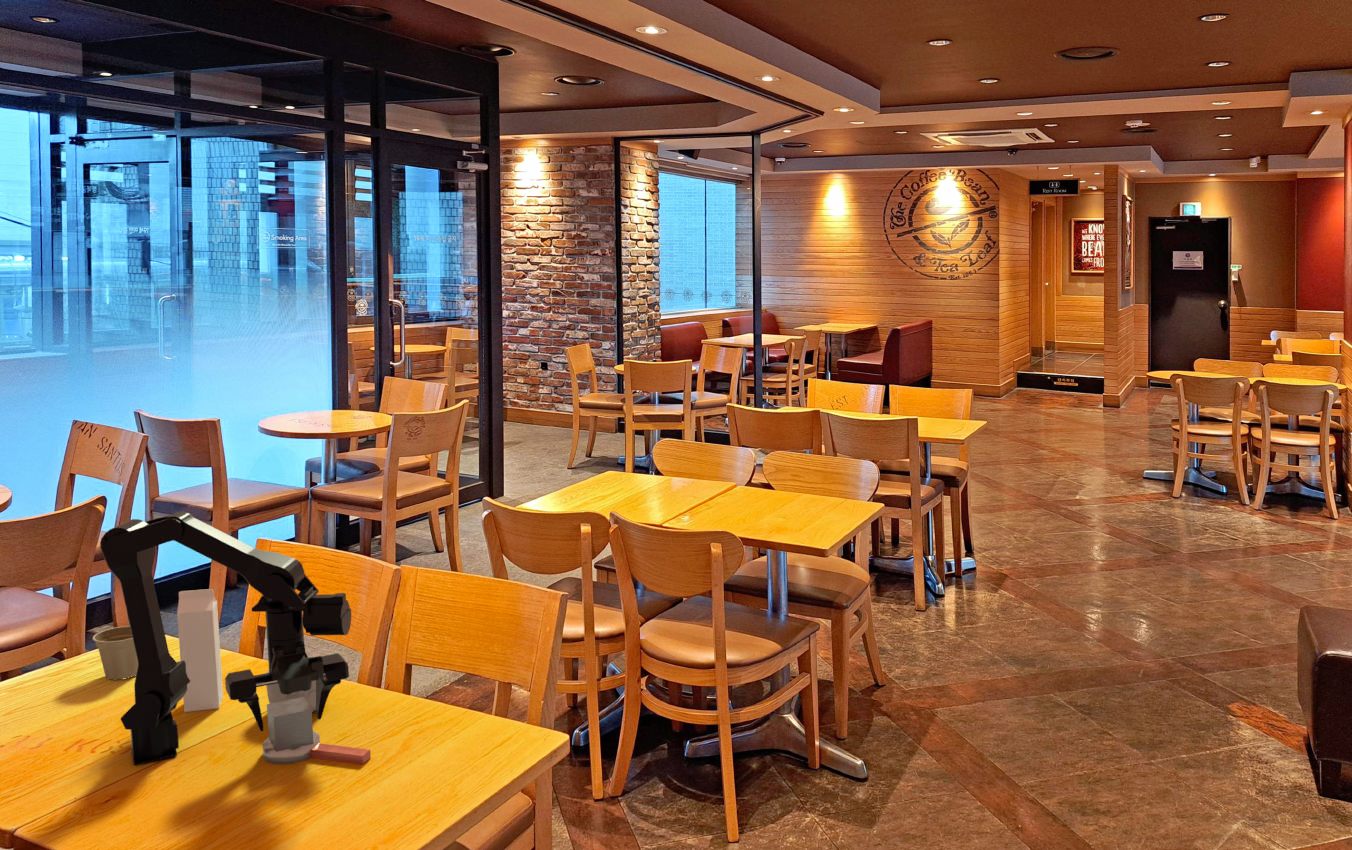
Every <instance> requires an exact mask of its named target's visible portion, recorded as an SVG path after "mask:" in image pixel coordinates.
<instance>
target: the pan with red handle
mask: <svg viewBox="0 0 1352 850" xmlns="http://www.w3.org/2000/svg"><path fill="white" fill-rule="evenodd" d="M320 741H321V739H320V734H319V733H318V732H317V731H315V730H313V742H314V744H310V745H305V746H301V747H296V748H292V749H287V750H283V751H278V752H276V751H275V749H274V747H273V745H272V743H271V741H270V739H269V737H267V738H266V739H265V740H264V741H263V743H262V756H263V757H262V758H263V759H264V760H265V762H267V763H270V764H273V765H292V764H297V763H302V762H305V761H307V760H310V759H314V758H315V759H314V760H323V761H324V760H325V761H330V762H340V763H347V764H349V763H350V764H357V765H364V764H366V761H367V762H368V761H369V760H370V759H372V757H371V755H372V754H371V749H370V748H369V749H368V748H363V747H362V748H361V747H353V746H346V745H345V746H344V745H336V744H328V743H327V744H326V743H321V742H320ZM301 761H302V762H301Z"/></svg>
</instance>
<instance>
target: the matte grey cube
mask: <svg viewBox="0 0 1352 850" xmlns="http://www.w3.org/2000/svg"><path fill="white" fill-rule="evenodd" d="M266 713H267V714H266V715H267V729H268V738H269V739H270V741H271V743H272V745H273V747H274V749H275V751H276V752H278V751H283V750H287V749H292V748H296V747H301V746H305V745H310V744H314V742H313V731H314V729H313V712H312V709H311V708H310V706H309V704H308V703H307V701H306V700H305V698H304V697H302V698H297V699H292V700H287V701H282V702H277V703H272V704H270V703H268V704H266Z"/></svg>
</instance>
